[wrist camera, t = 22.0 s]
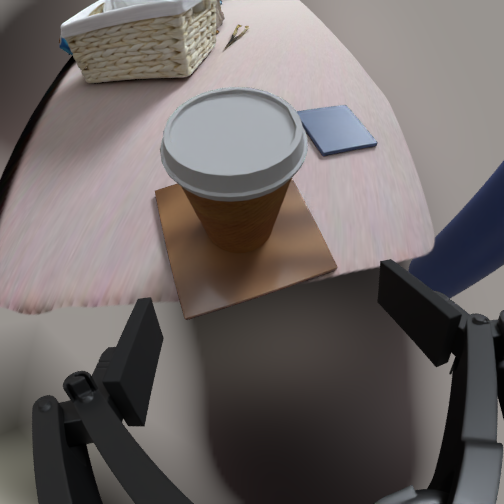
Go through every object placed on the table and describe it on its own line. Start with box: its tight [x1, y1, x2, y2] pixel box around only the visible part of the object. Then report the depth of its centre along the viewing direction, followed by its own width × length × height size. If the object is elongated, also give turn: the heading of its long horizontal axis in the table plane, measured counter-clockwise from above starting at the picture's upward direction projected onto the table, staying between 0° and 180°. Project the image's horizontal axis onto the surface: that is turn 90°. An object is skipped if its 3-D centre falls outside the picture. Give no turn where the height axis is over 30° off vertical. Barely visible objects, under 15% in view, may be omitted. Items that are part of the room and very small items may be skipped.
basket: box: [61, 0, 217, 83], centre depth 37 cm, size 24×16×15 cm
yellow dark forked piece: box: [225, 24, 249, 49], centre depth 46 cm, size 12×3×1 cm, turn 162°
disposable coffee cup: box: [160, 87, 308, 253], centre depth 22 cm, size 10×10×12 cm
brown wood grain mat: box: [155, 179, 337, 320], centre depth 28 cm, size 14×14×1 cm
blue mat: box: [297, 105, 377, 156], centre depth 34 cm, size 8×8×1 cm
